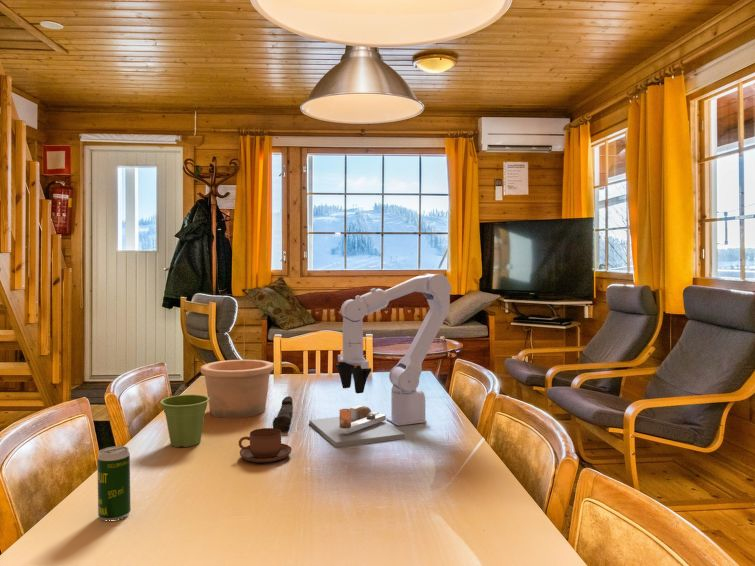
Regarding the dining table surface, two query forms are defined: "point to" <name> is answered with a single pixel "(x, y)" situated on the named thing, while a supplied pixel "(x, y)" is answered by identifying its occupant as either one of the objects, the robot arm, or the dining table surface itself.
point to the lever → (350, 427)
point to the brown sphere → (364, 412)
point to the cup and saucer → (264, 446)
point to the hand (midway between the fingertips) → (352, 390)
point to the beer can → (113, 483)
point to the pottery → (237, 387)
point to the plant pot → (185, 418)
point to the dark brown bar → (284, 415)
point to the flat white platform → (362, 436)
